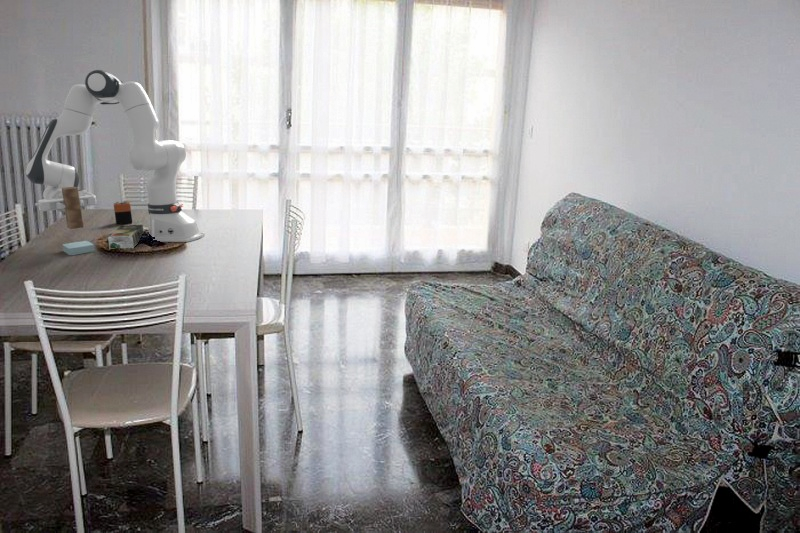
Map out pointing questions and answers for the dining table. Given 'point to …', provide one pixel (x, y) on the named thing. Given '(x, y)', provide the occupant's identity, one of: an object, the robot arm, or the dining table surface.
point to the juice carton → (126, 236)
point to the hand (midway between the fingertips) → (72, 205)
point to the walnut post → (72, 207)
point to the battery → (122, 213)
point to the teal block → (78, 247)
